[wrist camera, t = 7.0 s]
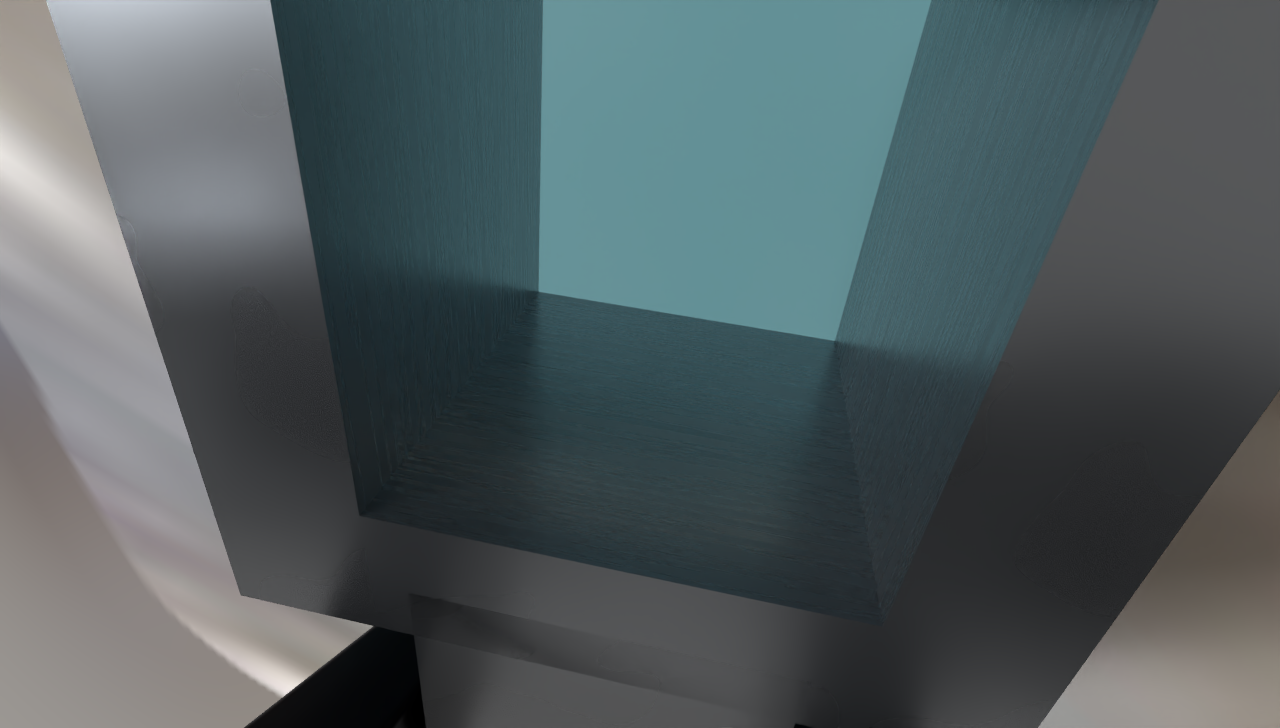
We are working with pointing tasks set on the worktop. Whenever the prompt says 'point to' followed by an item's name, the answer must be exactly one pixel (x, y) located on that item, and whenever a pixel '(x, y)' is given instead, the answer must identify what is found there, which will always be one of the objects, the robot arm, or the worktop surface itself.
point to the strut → (700, 359)
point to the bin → (717, 152)
